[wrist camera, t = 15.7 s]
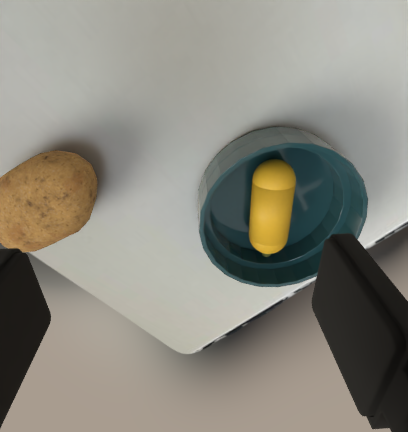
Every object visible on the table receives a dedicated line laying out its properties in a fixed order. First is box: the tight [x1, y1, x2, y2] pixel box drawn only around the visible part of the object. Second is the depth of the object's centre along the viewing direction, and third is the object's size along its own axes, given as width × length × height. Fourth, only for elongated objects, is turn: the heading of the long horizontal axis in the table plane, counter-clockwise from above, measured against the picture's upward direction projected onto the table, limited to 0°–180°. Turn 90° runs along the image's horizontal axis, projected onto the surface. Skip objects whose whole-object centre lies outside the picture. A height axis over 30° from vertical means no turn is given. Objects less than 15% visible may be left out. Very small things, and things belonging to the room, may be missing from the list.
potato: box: [0, 150, 97, 252], centre depth 35 cm, size 10×14×8 cm
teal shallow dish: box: [198, 127, 368, 287], centre depth 38 cm, size 19×19×6 cm
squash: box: [249, 159, 296, 257], centre depth 38 cm, size 13×5×5 cm, turn 1°
